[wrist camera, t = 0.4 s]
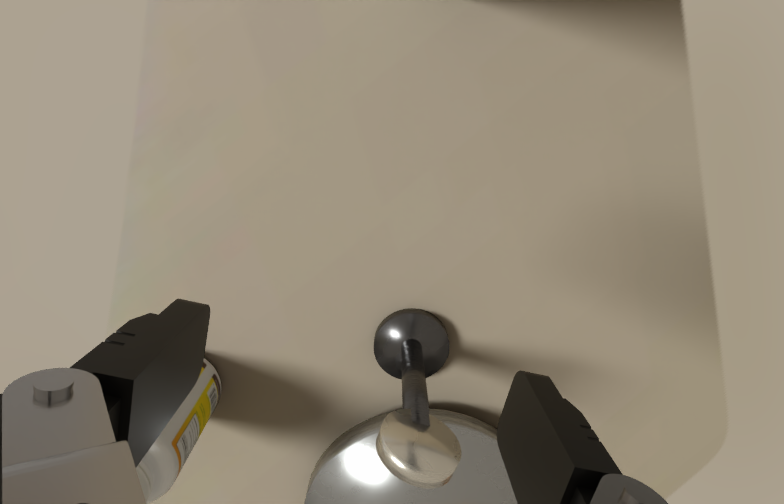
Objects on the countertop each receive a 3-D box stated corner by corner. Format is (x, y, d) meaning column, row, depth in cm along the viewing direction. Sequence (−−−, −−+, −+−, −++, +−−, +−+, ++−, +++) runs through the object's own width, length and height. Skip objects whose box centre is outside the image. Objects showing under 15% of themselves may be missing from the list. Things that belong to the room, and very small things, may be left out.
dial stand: (387, 299, 31) (384, 418, 20) (458, 321, 31) (495, 449, 20) (364, 362, 32) (349, 505, 21) (432, 381, 33) (453, 532, 22)
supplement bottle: (128, 365, 32) (15, 481, 23) (195, 333, 32) (108, 440, 22) (174, 424, 34) (88, 557, 24) (239, 395, 33) (176, 521, 24)
